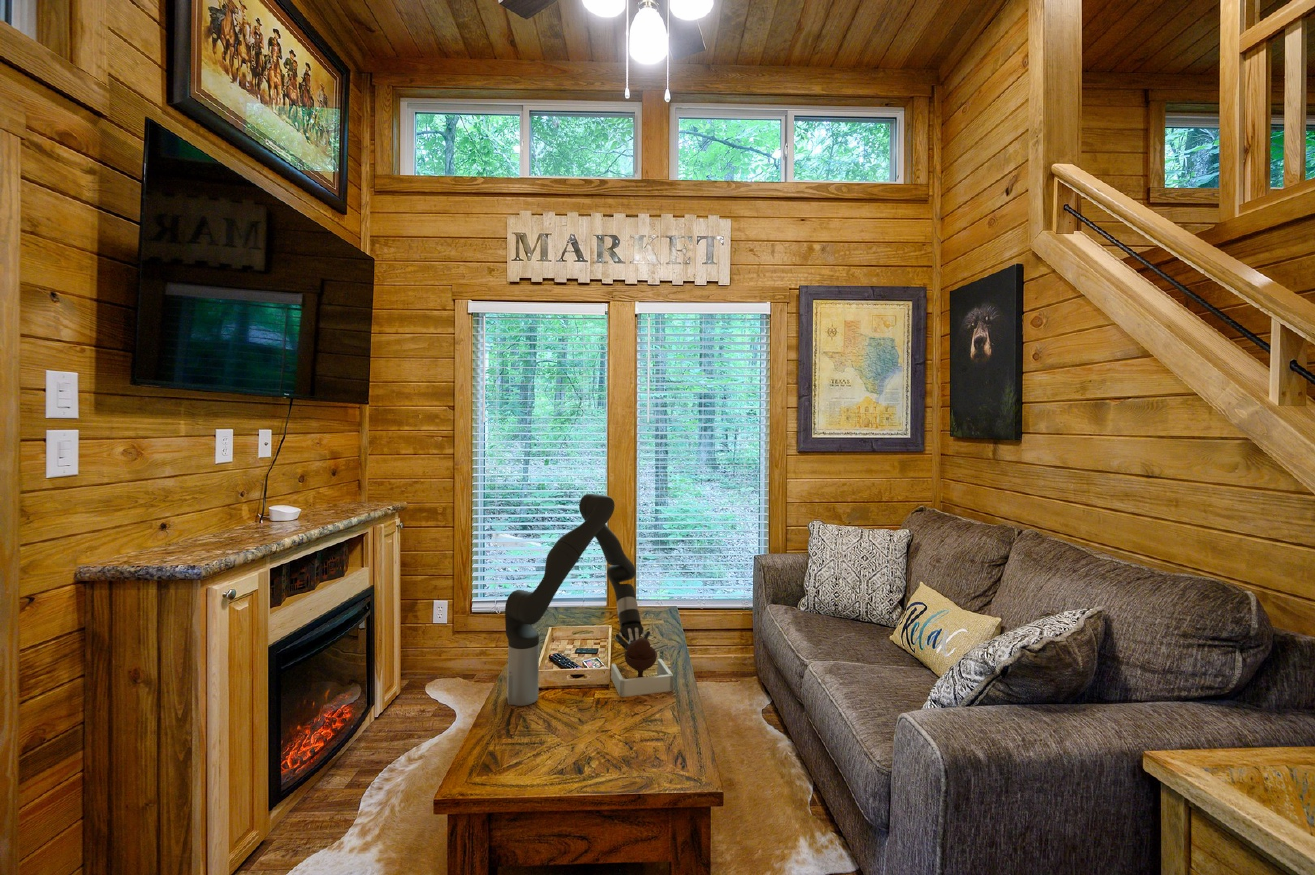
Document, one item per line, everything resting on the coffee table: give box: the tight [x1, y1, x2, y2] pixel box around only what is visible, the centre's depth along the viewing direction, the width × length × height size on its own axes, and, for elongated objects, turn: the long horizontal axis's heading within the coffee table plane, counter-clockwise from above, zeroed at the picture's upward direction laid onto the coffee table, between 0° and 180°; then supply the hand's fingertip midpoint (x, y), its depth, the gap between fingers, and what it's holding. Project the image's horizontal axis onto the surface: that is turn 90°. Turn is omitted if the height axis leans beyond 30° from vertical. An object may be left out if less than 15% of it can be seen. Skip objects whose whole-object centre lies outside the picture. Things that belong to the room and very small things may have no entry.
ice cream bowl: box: [624, 637, 658, 678], centre depth 194 cm, size 11×11×15 cm
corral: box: [610, 658, 675, 698], centre depth 192 cm, size 17×14×5 cm
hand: (636, 660), depth 199 cm, fingers closed
